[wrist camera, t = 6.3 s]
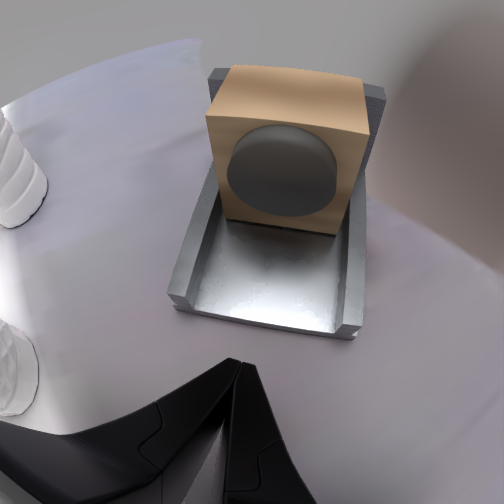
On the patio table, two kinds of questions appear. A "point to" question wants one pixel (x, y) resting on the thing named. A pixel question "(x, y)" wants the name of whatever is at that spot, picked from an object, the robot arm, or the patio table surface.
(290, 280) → the grey open holder
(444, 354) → the patio table surface
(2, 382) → the white cup
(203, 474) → the patio table surface
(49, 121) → the patio table surface
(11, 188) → the water bottle
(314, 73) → the tan box
